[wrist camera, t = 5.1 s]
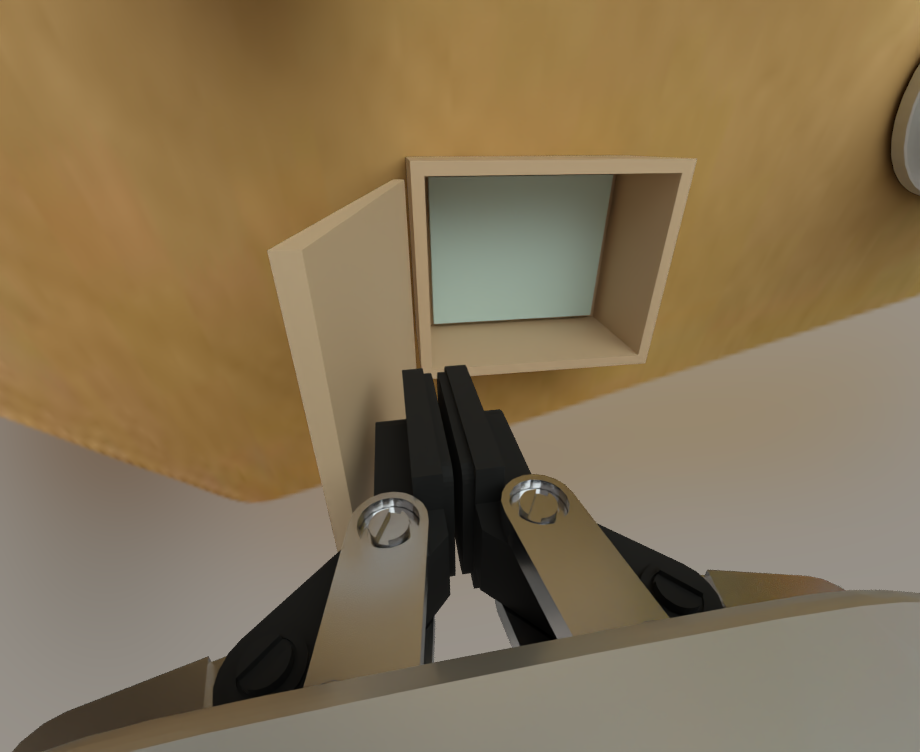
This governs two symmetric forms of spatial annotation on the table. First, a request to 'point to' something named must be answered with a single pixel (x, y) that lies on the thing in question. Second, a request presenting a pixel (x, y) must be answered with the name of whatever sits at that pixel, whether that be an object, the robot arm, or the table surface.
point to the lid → (349, 336)
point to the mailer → (541, 258)
